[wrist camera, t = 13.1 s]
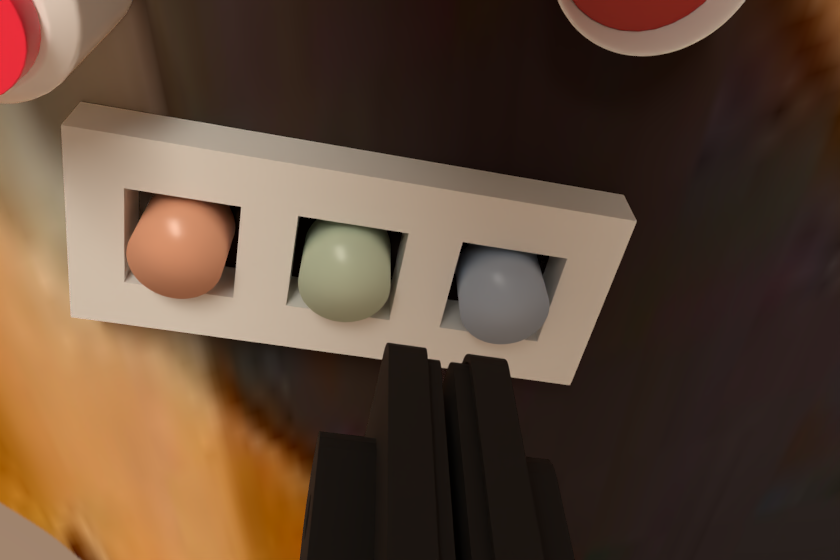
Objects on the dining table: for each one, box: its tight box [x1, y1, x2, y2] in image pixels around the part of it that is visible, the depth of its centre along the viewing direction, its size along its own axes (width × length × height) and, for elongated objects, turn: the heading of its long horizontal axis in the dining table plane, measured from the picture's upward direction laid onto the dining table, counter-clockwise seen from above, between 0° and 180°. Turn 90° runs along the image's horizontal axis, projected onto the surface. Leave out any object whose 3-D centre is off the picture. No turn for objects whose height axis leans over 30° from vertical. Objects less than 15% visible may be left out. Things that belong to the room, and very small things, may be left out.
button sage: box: [298, 219, 391, 322], centre depth 45 cm, size 5×5×4 cm
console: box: [61, 102, 637, 385], centre depth 46 cm, size 12×30×3 cm, turn 79°
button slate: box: [455, 243, 549, 344], centre depth 46 cm, size 5×5×4 cm
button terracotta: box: [126, 193, 235, 299], centre depth 44 cm, size 5×5×4 cm
